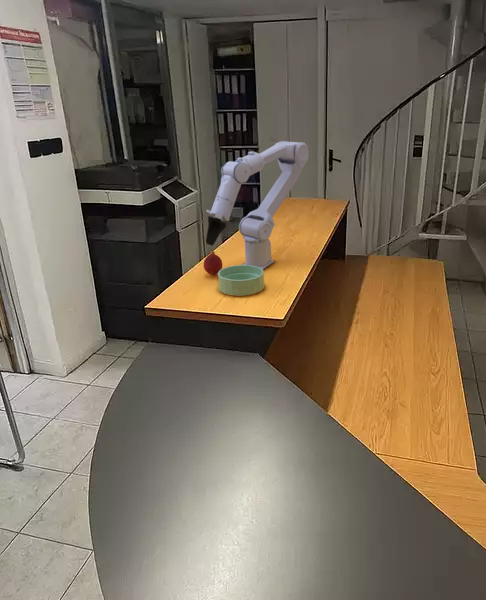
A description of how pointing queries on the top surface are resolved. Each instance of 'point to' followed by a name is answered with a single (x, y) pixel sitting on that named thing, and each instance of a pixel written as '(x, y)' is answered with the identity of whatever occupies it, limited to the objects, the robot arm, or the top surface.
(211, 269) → the onion
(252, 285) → the bowl
